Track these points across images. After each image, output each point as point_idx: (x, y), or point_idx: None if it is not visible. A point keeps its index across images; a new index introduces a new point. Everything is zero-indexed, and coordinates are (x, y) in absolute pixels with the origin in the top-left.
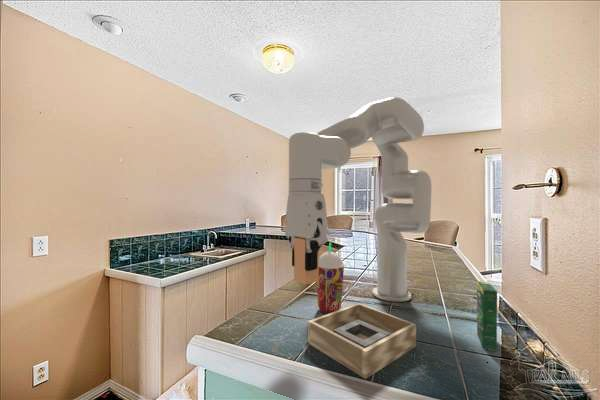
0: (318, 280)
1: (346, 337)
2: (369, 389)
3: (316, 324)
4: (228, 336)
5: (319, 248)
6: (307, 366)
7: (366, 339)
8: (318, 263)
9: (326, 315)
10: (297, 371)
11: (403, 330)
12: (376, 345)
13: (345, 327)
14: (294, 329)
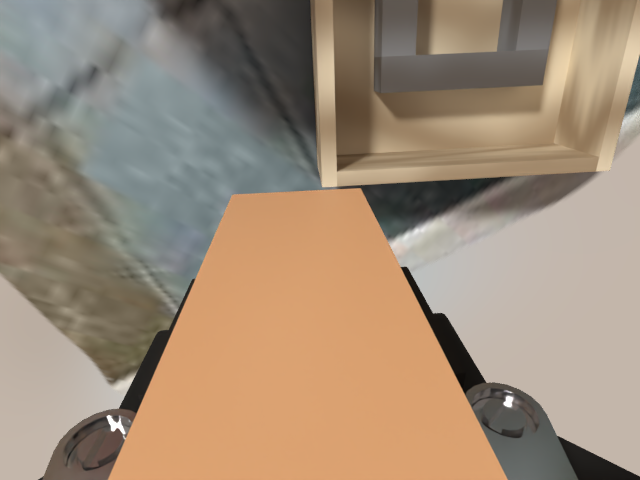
0: (361, 191)
1: (452, 89)
2: (580, 174)
3: (367, 178)
4: (144, 339)
5: (587, 454)
6: (411, 239)
7: (521, 36)
8: (388, 244)
9: (326, 78)
10: (409, 270)
11: None
12: (624, 106)
13: (401, 28)
14: (204, 145)
